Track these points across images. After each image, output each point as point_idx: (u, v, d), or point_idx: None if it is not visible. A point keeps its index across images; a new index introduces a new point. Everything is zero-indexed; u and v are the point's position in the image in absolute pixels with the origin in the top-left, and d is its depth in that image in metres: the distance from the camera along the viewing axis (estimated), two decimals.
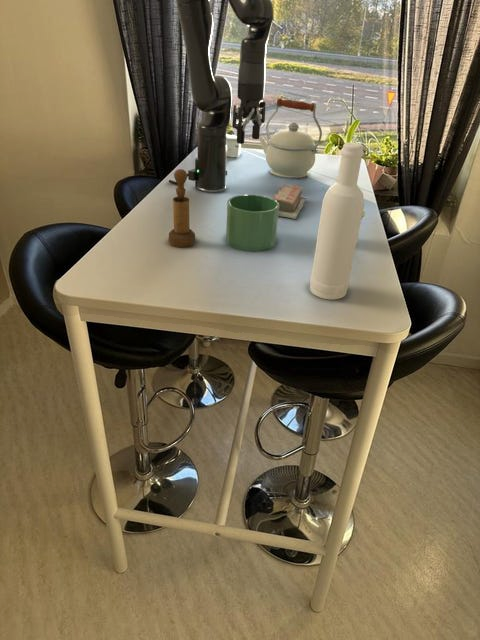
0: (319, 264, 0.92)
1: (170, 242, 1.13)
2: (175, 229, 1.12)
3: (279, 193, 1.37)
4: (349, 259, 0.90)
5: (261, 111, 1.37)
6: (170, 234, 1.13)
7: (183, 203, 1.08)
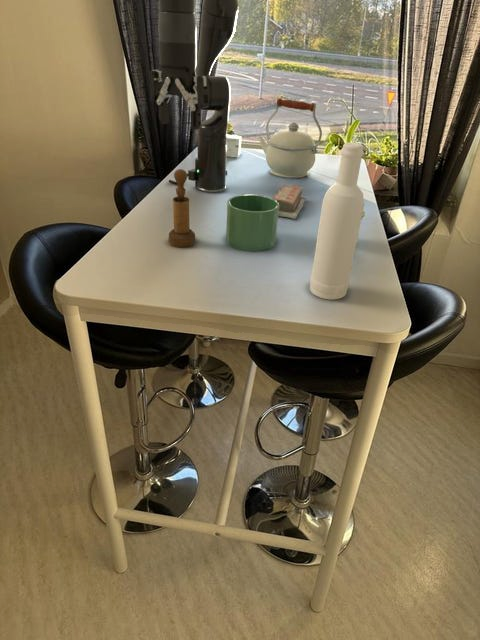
0: (319, 264, 0.92)
1: (170, 242, 1.13)
2: (175, 229, 1.12)
3: (279, 193, 1.37)
4: (349, 259, 0.90)
5: None
6: (170, 234, 1.13)
7: (183, 203, 1.08)
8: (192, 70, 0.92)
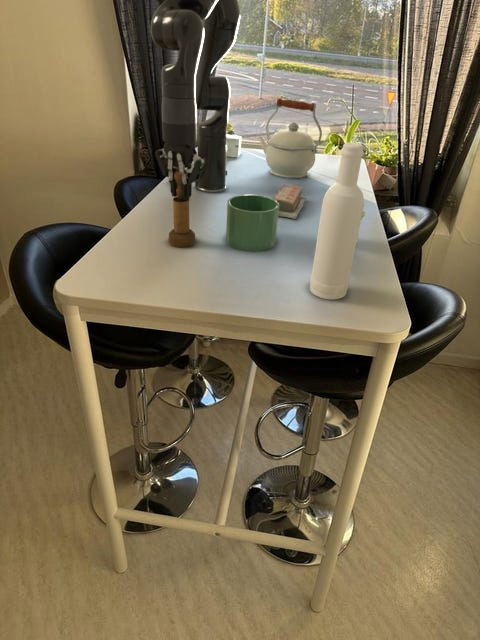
0: (319, 264, 0.92)
1: (170, 242, 1.13)
2: (175, 229, 1.12)
3: (279, 193, 1.37)
4: (349, 259, 0.90)
5: None
6: (170, 234, 1.13)
7: (183, 203, 1.08)
8: (192, 146, 1.00)
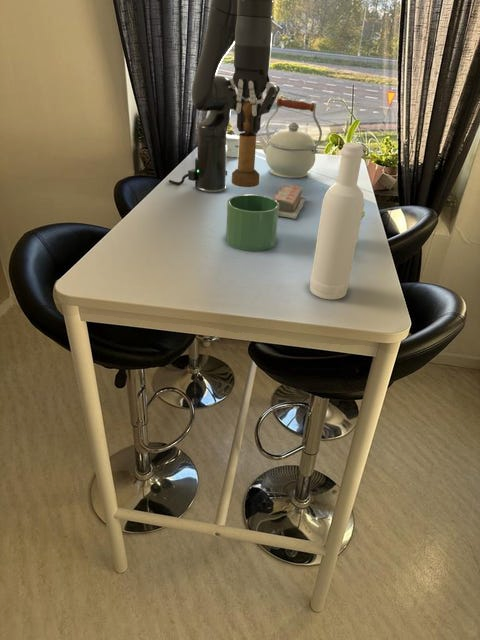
0: (319, 264, 0.92)
1: (234, 182, 1.08)
2: (240, 168, 1.06)
3: (279, 193, 1.37)
4: (349, 259, 0.90)
5: None
6: (234, 173, 1.07)
7: (251, 138, 1.02)
8: (266, 72, 0.95)
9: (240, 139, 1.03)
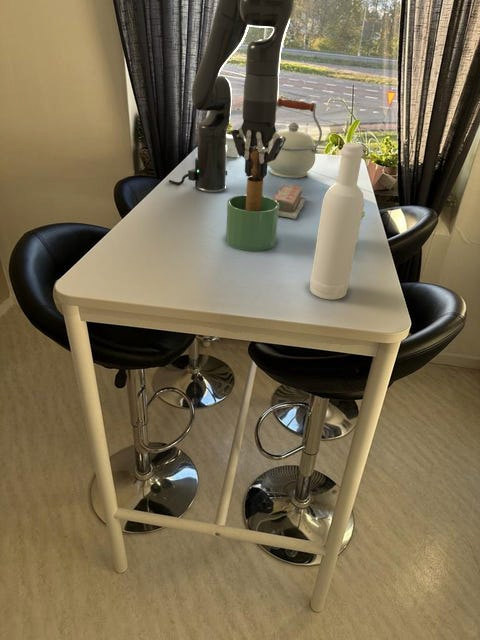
0: (319, 264, 0.92)
1: None
2: (247, 209, 1.12)
3: (279, 193, 1.37)
4: (349, 259, 0.90)
5: None
6: None
7: (258, 183, 1.08)
8: (273, 124, 1.01)
9: (248, 183, 1.09)
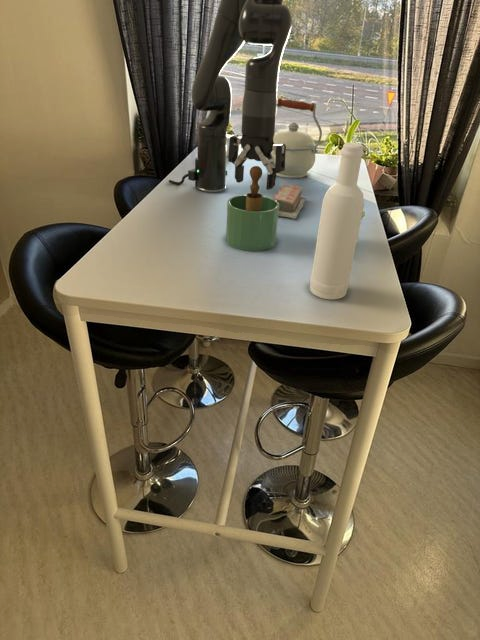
0: (319, 264, 0.92)
1: None
2: None
3: (279, 193, 1.37)
4: (349, 259, 0.90)
5: None
6: None
7: (257, 199, 1.10)
8: (271, 139, 1.02)
9: (247, 200, 1.11)
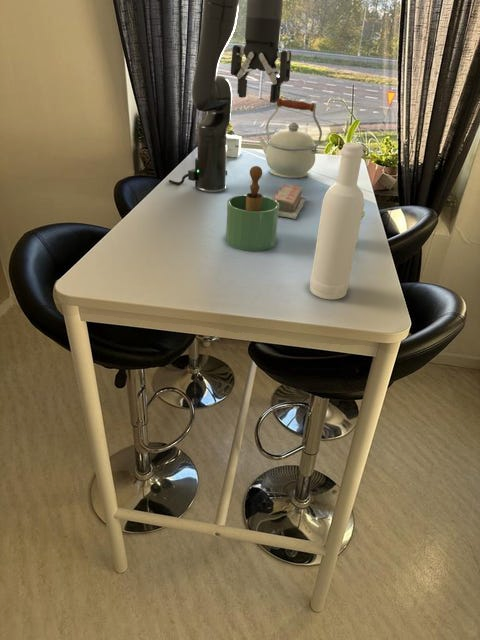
0: (319, 264, 0.92)
1: None
2: None
3: (279, 193, 1.37)
4: (349, 259, 0.90)
5: None
6: None
7: (257, 199, 1.10)
8: (276, 45, 0.98)
9: (247, 200, 1.11)
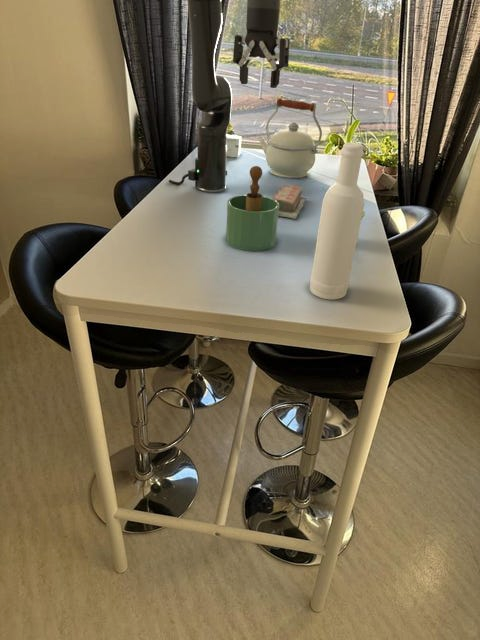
0: (319, 264, 0.92)
1: None
2: None
3: (279, 193, 1.37)
4: (349, 259, 0.90)
5: None
6: None
7: (257, 199, 1.10)
8: (275, 33, 1.06)
9: (247, 200, 1.11)
